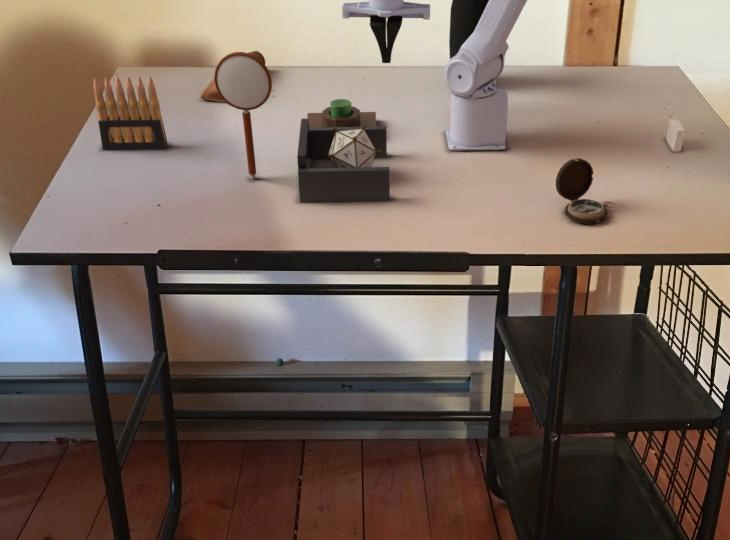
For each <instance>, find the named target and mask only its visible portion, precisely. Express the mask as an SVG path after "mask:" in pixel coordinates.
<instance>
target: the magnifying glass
mask: <svg viewBox="0 0 730 540" xmlns="http://www.w3.org/2000/svg"><path fill="white" fill-rule="evenodd" d="M271 76H272V75H271V72H270V71H269V69H268V67H267V66H266V63H265V64H264V63H263V62H262V61H261V60H260V59H258V58H257V57H255V56H253V55H251V54H249V52H244V51H235V52H231V53H228V54H226V55H225V56H224V57H222V58H221V59H220V61H218V63H217V65H216V68H215V71H214V76H213V78H214V79H215V85H216V89H217V91H218V93H219V94H220V96H221V97H222V99H223V100H224V101H225V102H226V103H225V104H228V105H229V106H231V107H232V108H235V109H237V110H241V111H242V112H241V114H242V123H243V132H244V143H245V153H246V161H247V170H248V175H249V176H250V179H251V180H255V179H256V174H257V167H256V166H257V165H256V157H255V146H254V137H253V127H252V126H253V125H252V117H251V111H252V110H253V111H254V110H256V109H258V108H260V107H262V106H263V105H264V104H265V103H267V101H268V99H269V98H270V96H271V93H272V88H273V82H272V77H271Z"/></svg>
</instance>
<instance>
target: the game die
mask: <svg viewBox="0 0 730 540" xmlns="http://www.w3.org/2000/svg"><path fill="white" fill-rule="evenodd" d="M366 127H367V126H366V124H364V125H363V128H362V129H352V130H342V131H337V129H336V128H335V127H333V130H334V131H335V135H334V138H333V141H332V144H331V147H330V149H329V152H328V153H325V154H324V156H325V157H326V156H328V157H329V158H330V159H329V160H330V162H331V163H332V165H333V168H355V167H372V165H373V163H374V160H375V159H376V158H375V155H376V153H380V152H381V150H376V149H375V147H374V145H373V144H372V142H371V140H370V138H369V137H368V135H367V133H366V131H365V128H366Z"/></svg>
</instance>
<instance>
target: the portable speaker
mask: <svg viewBox="0 0 730 540" xmlns="http://www.w3.org/2000/svg"><path fill="white" fill-rule="evenodd" d="M488 2H489V0H452V1H451V4H450V13H449V14H450V15H449V16H450V17H449V36H448V37H449V39H448V41H449V42H448V46H449V60H450V59H451V58H453V57H454V56H455V55H457V53H458V52H459V50H460V48H461V46H462V45H463V44H464V42H465V41H466V40H467V39H468V38H469V37H470V36H471V34H472V33H473V32H474V30H475V28H476V26H477V24H478V22H479V20H480V18H481V16H482V14H483V12H484V10H485V8H486V6H487V4H488Z"/></svg>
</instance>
